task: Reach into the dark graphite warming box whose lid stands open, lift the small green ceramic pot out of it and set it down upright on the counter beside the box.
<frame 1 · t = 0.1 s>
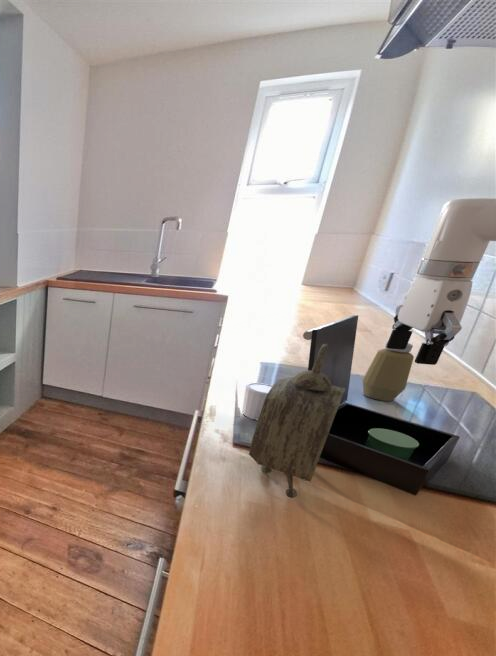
hand: (409, 355, 84), 17 cm above the countertop, tool pointing down, fingers open, 9 cm apart
white short cylinder: (255, 416, 97), on the countertop
squeeze bottle: (377, 397, 106), on the countertop
tan textured upright piece: (277, 477, 75), on the countertop
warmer: (368, 457, 80), on the countertop
pot: (383, 458, 78), point 1 cm above the countertop, touching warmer
lid: (318, 366, 84), point 15 cm above the countertop, hinge at 100.0°
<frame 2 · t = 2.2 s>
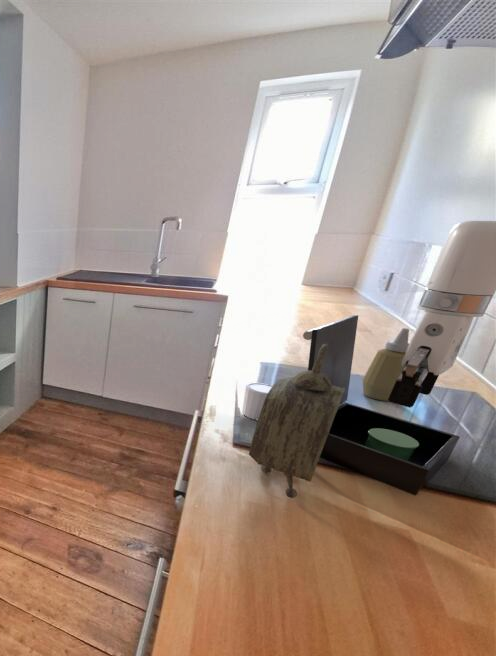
hand: (408, 397, 73), 13 cm above the countertop, tool pointing down, fingers open, 9 cm apart
nothing on the countertop moved.
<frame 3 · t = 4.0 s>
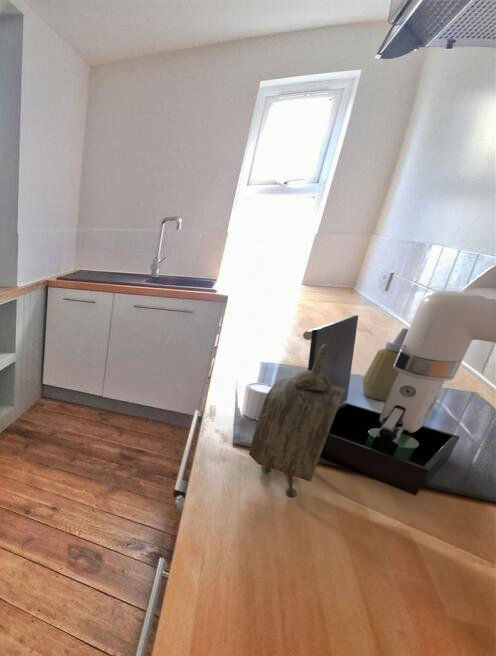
hand: (386, 452, 78), 2 cm above the countertop, tool pointing down, fingers closed on pot, 7 cm apart
pot: (383, 458, 78), point 1 cm above the countertop, touching gripper, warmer
everything else where it was.
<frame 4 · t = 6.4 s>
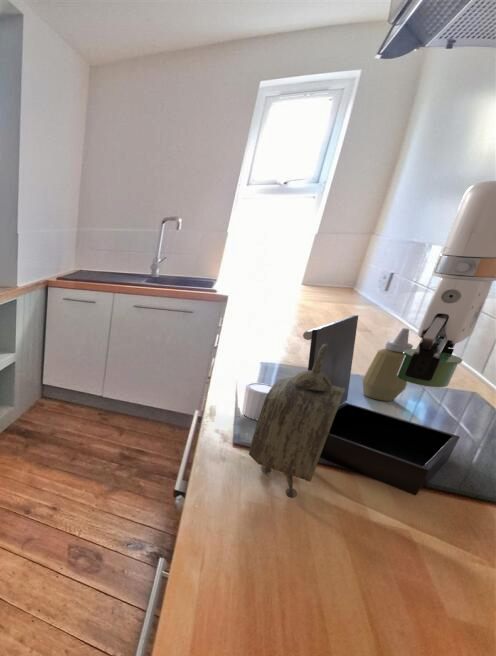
hand: (425, 372, 71), 18 cm above the countertop, tool pointing down, fingers closed on pot, 7 cm apart
pot: (421, 380, 72), point 17 cm above the countertop, touching gripper
everything else where it was.
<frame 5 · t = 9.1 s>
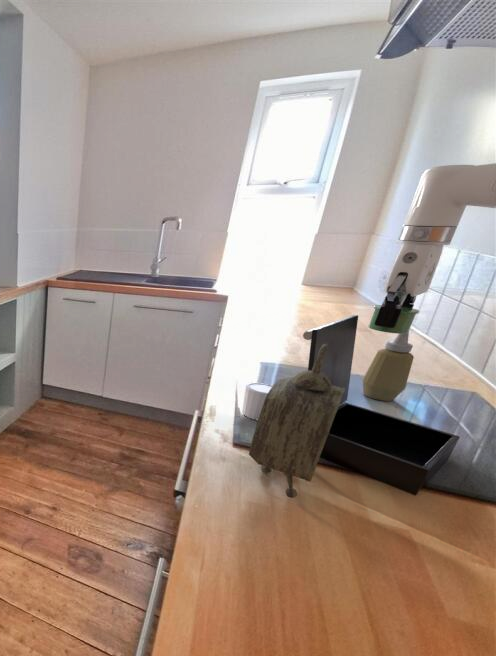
hand: (390, 323, 88), 22 cm above the countertop, tool pointing down, fingers closed on pot, 7 cm apart
pot: (387, 329, 89), point 21 cm above the countertop, touching gripper
everything else where it was.
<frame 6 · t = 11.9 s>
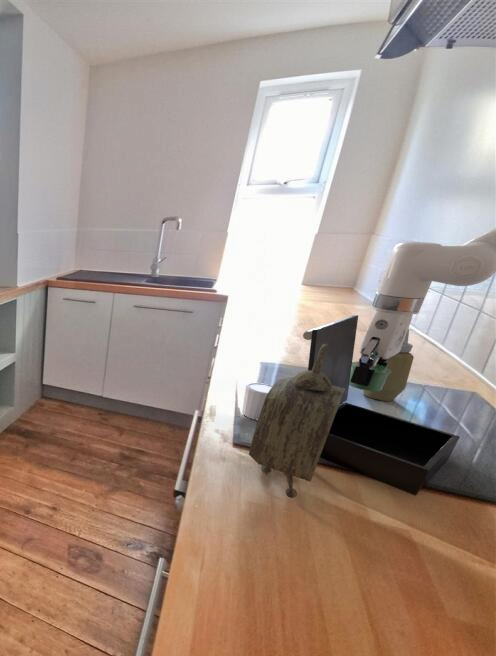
hand: (365, 379, 94), 8 cm above the countertop, tool pointing down, fingers closed on pot, 7 cm apart
pot: (363, 385, 95), point 7 cm above the countertop, touching gripper
everything else where it was.
when the fingers open (1 cm above the countertop, at t = 14.0 s): pot stays where it is, on the countertop.
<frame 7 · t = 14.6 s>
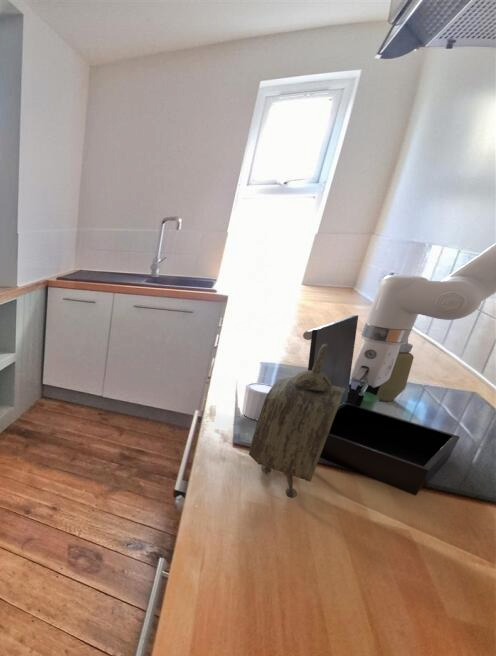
hand: (357, 403, 97), 2 cm above the countertop, tool pointing down, fingers open, 9 cm apart
pot: (352, 412, 98), on the countertop
everything else where it was.
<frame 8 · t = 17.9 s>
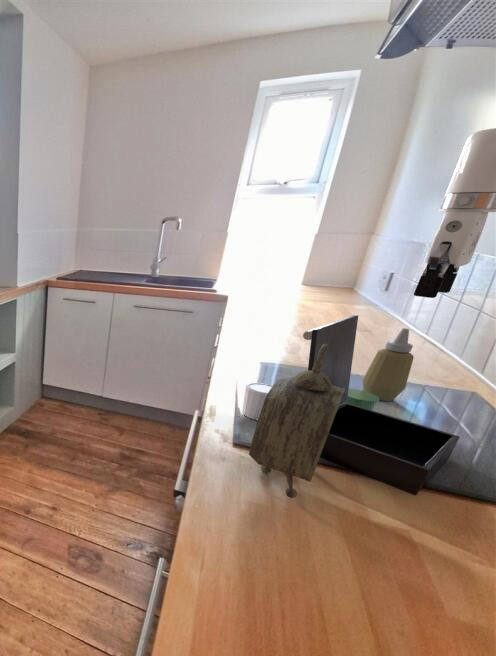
hand: (431, 294, 85), 28 cm above the countertop, tool pointing down, fingers open, 9 cm apart
nothing on the countertop moved.
at the end: pot inside the target area (0.2 cm from its centre), on the countertop; pot tilted 0°; lid at +100° (first picture: +100°) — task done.
